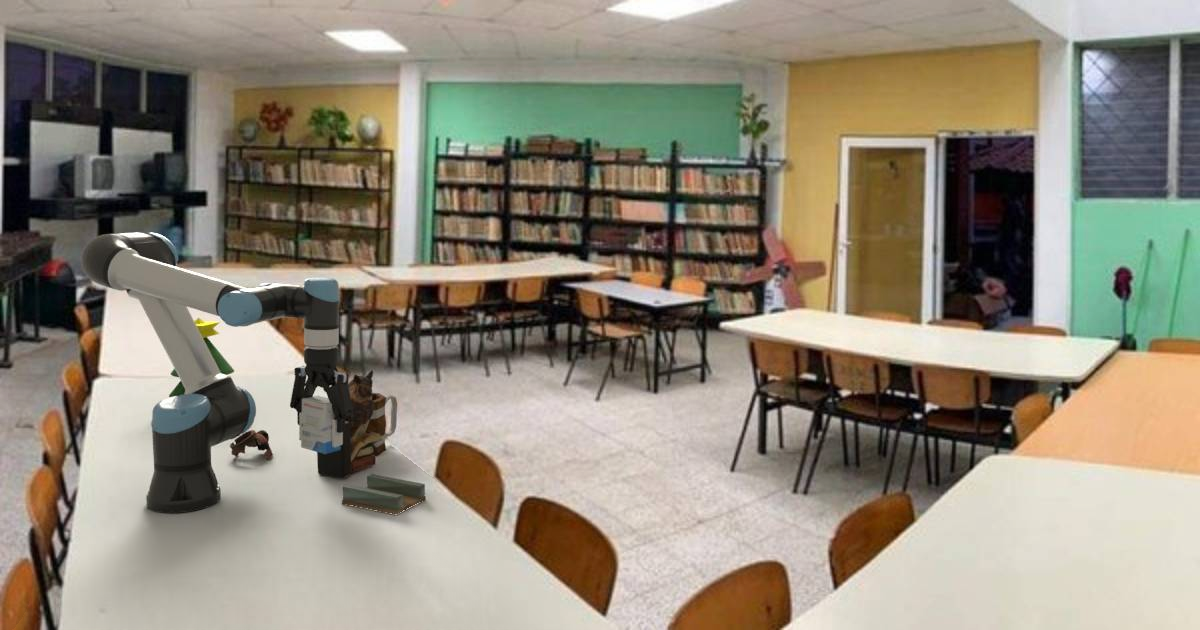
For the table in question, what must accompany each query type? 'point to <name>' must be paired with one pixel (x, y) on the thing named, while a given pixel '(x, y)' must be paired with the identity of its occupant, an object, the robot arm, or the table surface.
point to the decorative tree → (223, 365)
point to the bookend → (354, 434)
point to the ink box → (317, 425)
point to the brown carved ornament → (252, 443)
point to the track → (384, 494)
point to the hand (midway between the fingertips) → (320, 442)
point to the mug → (382, 420)
